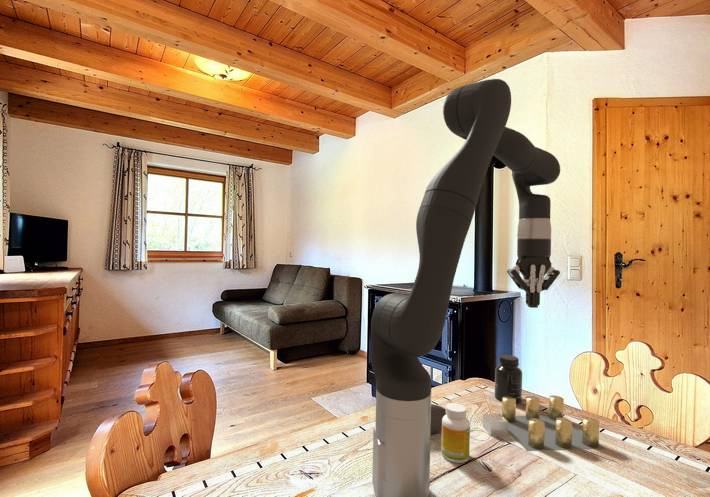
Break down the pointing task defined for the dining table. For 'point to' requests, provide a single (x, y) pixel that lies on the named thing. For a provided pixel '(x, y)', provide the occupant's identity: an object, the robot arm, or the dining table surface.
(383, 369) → the robot arm
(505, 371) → the supplement bottle
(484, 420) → the white faced textured brick
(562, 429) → the spacers
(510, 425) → the mat
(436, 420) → the perforated stone tool
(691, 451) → the dining table surface
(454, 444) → the supplement bottle
